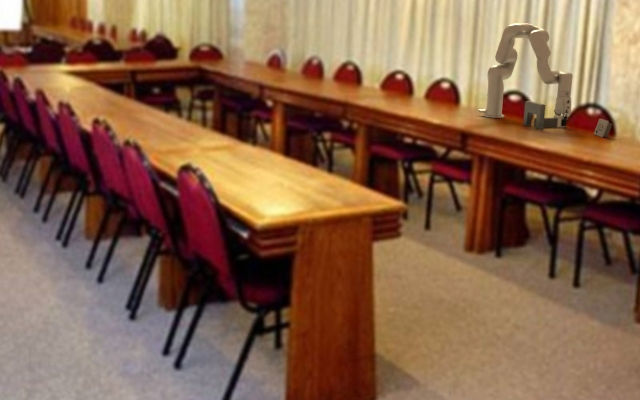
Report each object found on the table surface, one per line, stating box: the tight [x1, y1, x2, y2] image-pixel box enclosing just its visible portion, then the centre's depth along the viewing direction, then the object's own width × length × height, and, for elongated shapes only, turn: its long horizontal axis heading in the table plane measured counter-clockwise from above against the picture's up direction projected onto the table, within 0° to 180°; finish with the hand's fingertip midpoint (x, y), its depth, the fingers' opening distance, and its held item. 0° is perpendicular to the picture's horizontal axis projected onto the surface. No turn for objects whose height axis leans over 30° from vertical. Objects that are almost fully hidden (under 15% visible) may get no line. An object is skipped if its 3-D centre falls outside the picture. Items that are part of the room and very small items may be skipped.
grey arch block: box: [522, 100, 546, 130], centre depth 497 cm, size 3×16×14 cm, turn 20°
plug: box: [533, 114, 566, 128], centre depth 502 cm, size 18×5×6 cm, turn 109°
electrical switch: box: [593, 118, 613, 138], centre depth 475 cm, size 9×5×9 cm, turn 10°
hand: (560, 124), depth 505 cm, fingers closed on plug, 4 cm apart
